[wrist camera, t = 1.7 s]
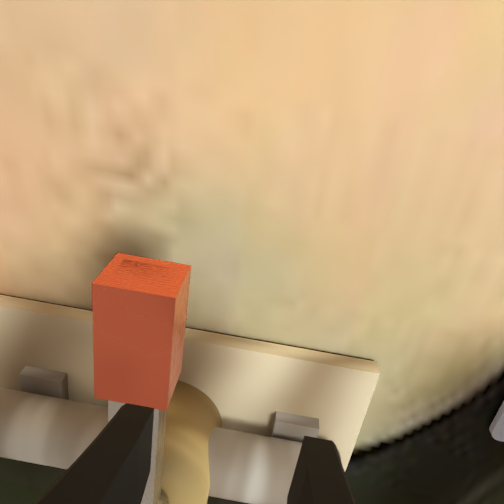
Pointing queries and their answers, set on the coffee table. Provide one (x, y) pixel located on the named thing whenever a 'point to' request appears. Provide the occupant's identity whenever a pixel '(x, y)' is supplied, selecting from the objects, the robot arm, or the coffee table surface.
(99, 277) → the valve lever
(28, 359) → the valve fixture
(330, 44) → the coffee table surface
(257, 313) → the coffee table surface
